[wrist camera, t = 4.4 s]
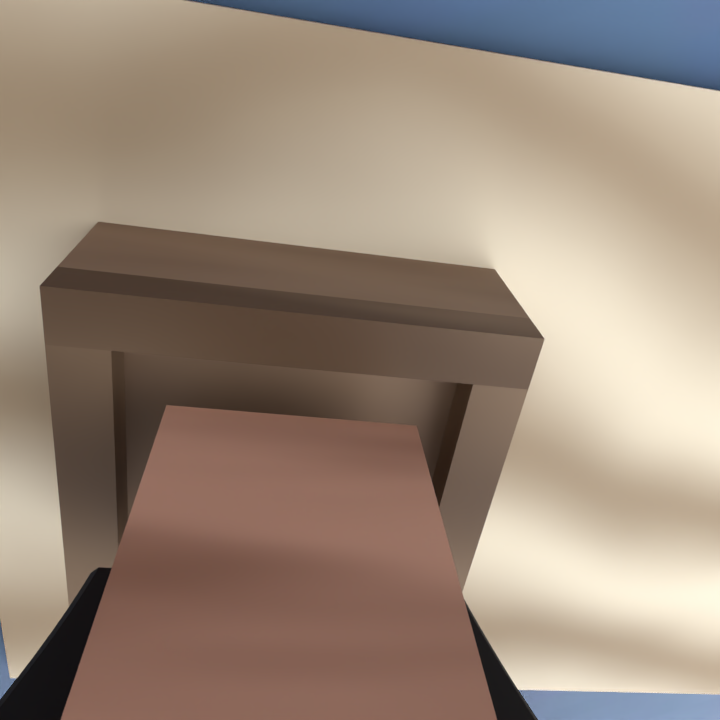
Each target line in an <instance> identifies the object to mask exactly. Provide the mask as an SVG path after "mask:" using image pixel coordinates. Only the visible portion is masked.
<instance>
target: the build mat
mask: <svg viewBox="0 0 720 720" xmlns="http://www.w3.org/2000/svg"><path fill="white" fill-rule="evenodd" d="M166 405H172V406H184V407H196V408H208V409H221V410H233V411H245V412H257V413H269V414H281V415H294V416H306V417H318V418H330V419H342V420H355V421H367V422H379V423H391V424H403V425H415V426H417V429H418V432H419V436H420V440H421V443H422V447H423V451H424V454H425V458H426V462H427V465H428V469H429V473H430V476H431V480H432V484H433V487H434V491H435V495H436V498H437V502H438V506H439V509H440V513H441V517H442V520H443V524H444V528H445V531H446V535H447V539H448V542H449V546H450V550H451V553H452V557H453V561H454V564H455V568H456V571H457V575H458V579H459V582H460V586H461V590H462V593H463V597H464V600H465V601H466V603H467V605H468V607H469V609H470V610H471V612H472V614H473V616H474V617H475V619H476V621H477V623H478V624H479V626H480V628H481V629H482V631H483V633H484V635H485V636H486V638H487V640H488V641H489V643H490V645H491V646H492V648H493V650H494V651H495V653H496V655H497V656H498V658H499V660H500V661H501V663H502V665H503V666H504V668H505V670H506V671H507V673H508V674H509V676H510V678H511V679H512V681H513V682H514V684H515V686H516V687H517V689H518V690H552V691H595V692H638V693H682V694H720V90H714V89H708V88H702V87H696V86H690V85H684V84H678V83H673V82H667V81H661V80H655V79H649V78H643V77H637V76H631V75H625V74H620V73H614V72H608V71H602V70H596V69H590V68H584V67H578V66H572V65H567V64H561V63H555V62H549V61H543V60H537V59H531V58H525V57H520V56H514V55H508V54H502V53H496V52H490V51H484V50H478V49H472V48H467V47H461V46H455V45H449V44H443V43H437V42H431V41H425V40H419V39H414V38H408V37H402V36H396V35H390V34H384V33H378V32H372V31H366V30H361V29H355V28H349V27H343V26H337V25H331V24H325V23H319V22H313V21H308V20H302V19H296V18H290V17H284V16H278V15H272V14H266V13H261V12H255V11H249V10H243V9H237V8H231V7H225V6H219V5H213V4H208V3H202V2H196V1H190V0H0V621H1V627H2V633H3V639H4V645H5V651H6V657H7V663H8V669H9V674H10V678H17V677H18V676H19V675H20V674H21V672H22V671H23V670H24V668H25V667H26V666H27V665H28V663H29V662H30V661H31V659H32V658H33V657H34V655H35V654H36V653H37V651H38V650H39V648H40V647H41V646H42V644H43V643H44V642H45V640H46V639H47V637H48V636H49V635H50V633H51V632H52V630H53V629H54V628H55V626H56V625H57V623H58V622H59V621H60V619H61V618H62V616H63V615H64V613H65V612H66V610H67V609H68V607H69V606H70V604H71V603H72V601H73V600H74V598H75V597H76V595H77V594H78V592H79V591H80V589H81V588H82V586H83V584H84V583H85V581H86V580H87V578H88V576H89V575H90V573H91V572H93V571H94V570H95V569H97V568H98V567H104V568H112V566H113V563H114V560H115V557H116V554H117V551H118V548H119V545H120V542H121V539H122V536H123V533H124V530H125V527H126V524H127V521H128V518H129V515H130V512H131V509H132V506H133V503H134V500H135V497H136V494H137V491H138V488H139V485H140V482H141V479H142V476H143V473H144V470H145V467H146V464H147V461H148V459H149V456H150V453H151V450H152V447H153V444H154V441H155V438H156V435H157V432H158V429H159V426H160V423H161V420H162V417H163V414H164V411H165V408H166Z"/></svg>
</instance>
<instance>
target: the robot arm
mask: <svg viewBox="0 0 720 720" xmlns="http://www.w3.org/2000/svg"><path fill="white" fill-rule="evenodd" d="M111 569H112V568H104V567H98V568H97V569H95V570H94V571H93V572H91V573H90V575H89V576H88V578H87V580H86V581H85V583H84V584H83V586H82V588H81V589H80V591H79V592H78V594H77V595H76V597H75V598H74V600H73V601H72V603H71V604H70V606H69V607H68V609H67V610H66V612H65V613H64V615H63V616H62V618H61V619H60V621H59V622H58V623H57V625H56V626H55V628H54V629H53V630H52V632H51V633H50V635H49V636H48V637H47V639H46V640H45V642H44V643H43V644H42V646H41V647H40V648H39V650H38V651H37V653H36V654H35V655H34V657H33V658H32V659H31V661H30V662H29V663H28V665H27V666H26V667H25V668H24V670H23V671H22V672H21V674H20V675H19V676H18V677H17V679H16V680H15V681H14V683H13V684H12V685H11V687H10V688H9V689H8V690H7V692H6V693H5V694H4V696H3V697H2V698H1V699H0V720H61V717H62V714H63V711H64V708H65V705H66V702H67V699H68V696H69V694H70V691H71V688H72V685H73V682H74V679H75V676H76V673H77V670H78V667H79V664H80V661H81V658H82V655H83V652H84V649H85V646H86V643H87V640H88V637H89V634H90V631H91V628H92V625H93V622H94V619H95V616H96V613H97V610H98V607H99V604H100V601H101V598H102V595H103V592H104V589H105V586H106V583H107V580H108V578H109V575H110V572H111ZM464 601H465V600H464ZM465 604H466V608H467V612H468V615H469V619H470V623H471V626H472V630H473V634H474V637H475V641H476V645H477V648H478V652H479V656H480V659H481V663H482V667H483V670H484V674H485V678H486V681H487V685H488V689H489V692H490V696H491V700H492V703H493V707H494V710H495V714H496V718H497V720H538V719H537V718H536V716H535V715H534V713H533V712H532V710H531V709H530V707H529V706H528V704H527V703H526V701H525V700H524V698H523V696H522V695H521V693H520V692H519V690H518V689H517V687H516V686H515V684H514V682H513V681H512V679H511V678H510V676H509V674H508V673H507V671H506V670H505V668H504V666H503V665H502V663H501V661H500V660H499V658H498V656H497V655H496V653H495V651H494V650H493V648H492V646H491V645H490V643H489V641H488V640H487V638H486V636H485V635H484V633H483V631H482V629H481V628H480V626H479V624H478V623H477V621H476V619H475V617H474V616H473V614H472V612H471V610H470V609H469V607H468V605H467V603H466V601H465Z"/></svg>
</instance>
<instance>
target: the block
mask: <svg viewBox="0 0 720 720" xmlns="http://www.w3.org/2000/svg"><path fill="white" fill-rule="evenodd" d="M61 720H497V718H496V714H495V710H494V707H493V703H492V700H491V696H490V692H489V689H488V685H487V681H486V678H485V674H484V670H483V667H482V663H481V659H480V656H479V652H478V648H477V645H476V641H475V637H474V634H473V630H472V626H471V623H470V619H469V615H468V612H467V608H466V604H465V601H464V597H463V593H462V590H461V586H460V582H459V579H458V575H457V571H456V568H455V564H454V561H453V557H452V553H451V550H450V546H449V542H448V539H447V535H446V531H445V528H444V524H443V520H442V517H441V513H440V509H439V506H438V502H437V498H436V495H435V491H434V487H433V484H432V480H431V476H430V473H429V469H428V465H427V462H426V458H425V454H424V451H423V447H422V443H421V440H420V436H419V432H418V429H417V426H415V425H403V424H391V423H379V422H367V421H355V420H342V419H330V418H318V417H306V416H294V415H281V414H269V413H257V412H245V411H233V410H221V409H208V408H196V407H184V406H172V405H166V408H165V411H164V414H163V417H162V420H161V423H160V426H159V429H158V432H157V435H156V438H155V441H154V444H153V447H152V450H151V453H150V456H149V459H148V461H147V464H146V467H145V470H144V473H143V476H142V479H141V482H140V485H139V488H138V491H137V494H136V497H135V500H134V503H133V506H132V509H131V512H130V515H129V518H128V521H127V524H126V527H125V530H124V533H123V536H122V539H121V542H120V545H119V548H118V551H117V554H116V557H115V560H114V563H113V566H112V569H111V572H110V575H109V578H108V580H107V583H106V586H105V589H104V592H103V595H102V598H101V601H100V604H99V607H98V610H97V613H96V616H95V619H94V622H93V625H92V628H91V631H90V634H89V637H88V640H87V643H86V646H85V649H84V652H83V655H82V658H81V661H80V664H79V667H78V670H77V673H76V676H75V679H74V682H73V685H72V688H71V691H70V694H69V696H68V699H67V702H66V705H65V708H64V711H63V714H62V717H61Z"/></svg>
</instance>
